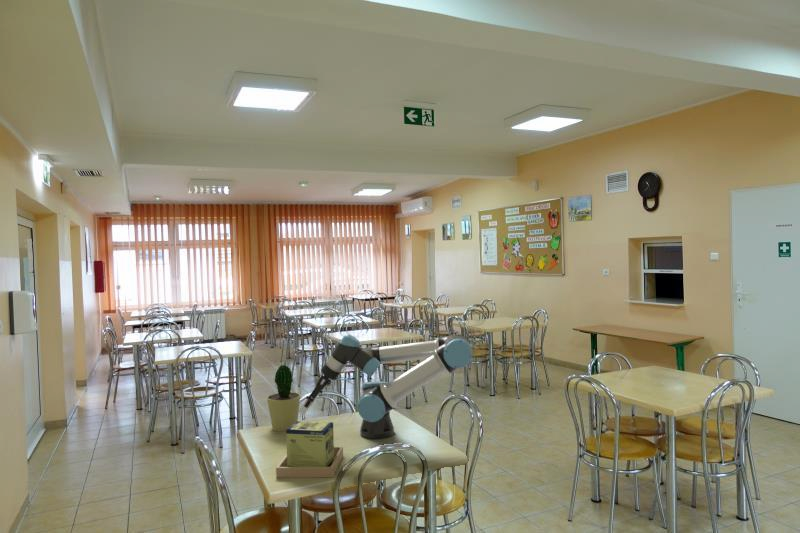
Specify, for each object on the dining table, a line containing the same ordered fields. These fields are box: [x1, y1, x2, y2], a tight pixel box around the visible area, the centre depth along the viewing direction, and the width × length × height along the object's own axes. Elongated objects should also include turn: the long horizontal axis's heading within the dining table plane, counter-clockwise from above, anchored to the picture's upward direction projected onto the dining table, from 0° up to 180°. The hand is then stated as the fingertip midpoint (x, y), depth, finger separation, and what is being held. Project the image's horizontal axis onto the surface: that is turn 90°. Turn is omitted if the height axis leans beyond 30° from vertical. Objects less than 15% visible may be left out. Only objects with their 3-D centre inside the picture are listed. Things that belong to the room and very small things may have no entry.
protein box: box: [285, 420, 335, 467], centre depth 207 cm, size 10×16×16 cm
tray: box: [275, 446, 344, 478], centre depth 207 cm, size 21×22×4 cm
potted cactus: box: [266, 364, 301, 432], centre depth 257 cm, size 15×15×30 cm
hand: (305, 408), depth 232 cm, fingers open, 13 cm apart
